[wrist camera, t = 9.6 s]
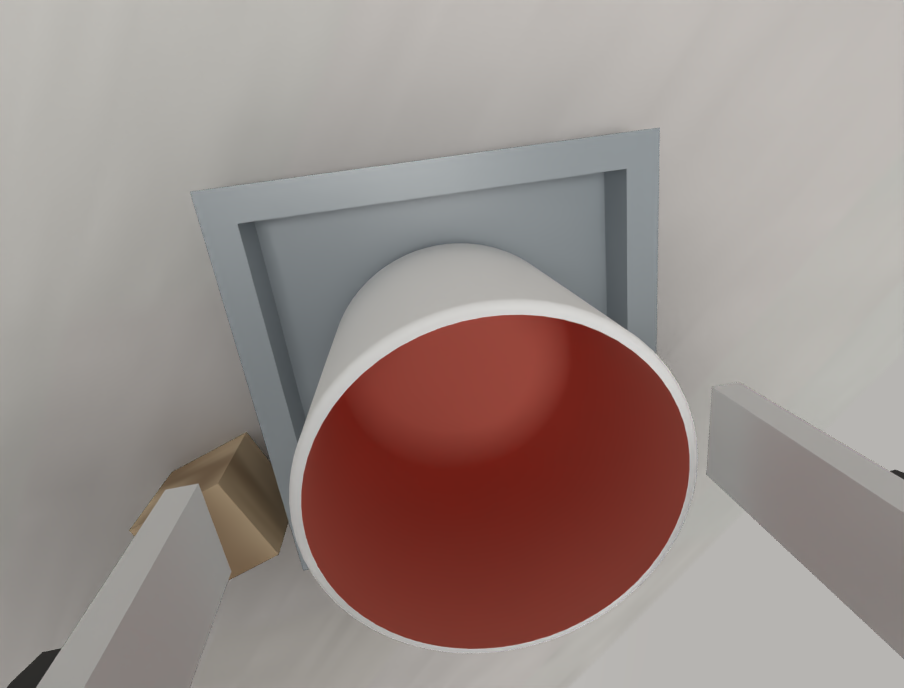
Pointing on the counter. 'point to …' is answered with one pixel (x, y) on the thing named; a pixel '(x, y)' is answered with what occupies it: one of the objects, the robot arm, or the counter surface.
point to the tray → (417, 227)
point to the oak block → (235, 501)
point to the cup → (487, 456)
